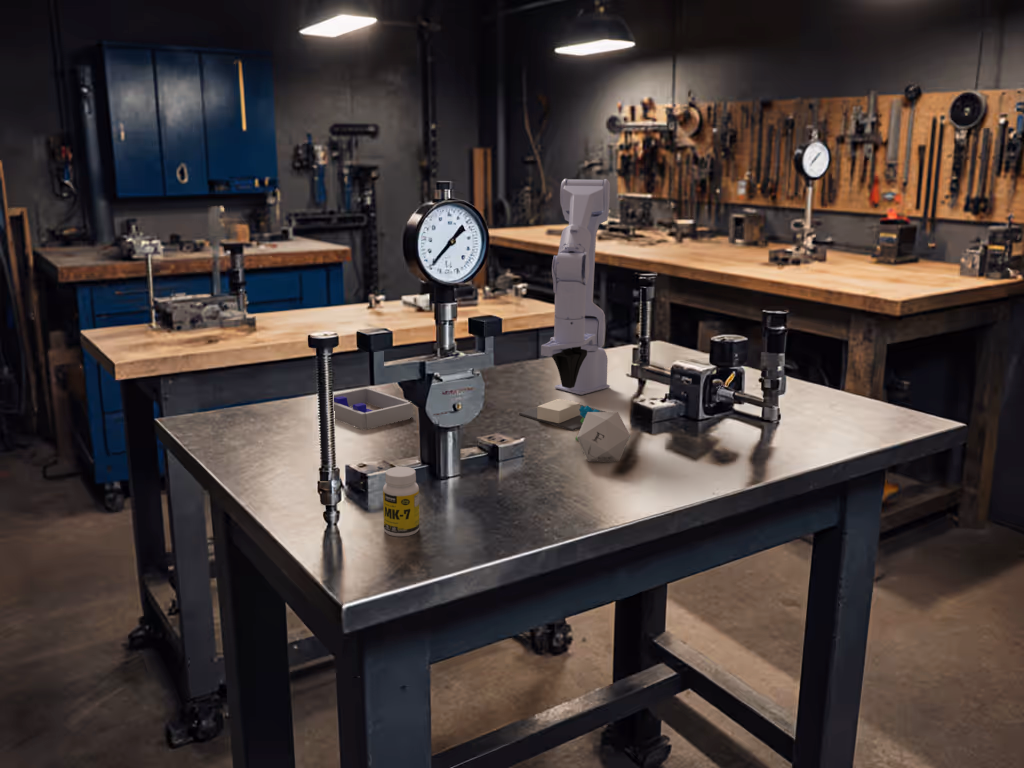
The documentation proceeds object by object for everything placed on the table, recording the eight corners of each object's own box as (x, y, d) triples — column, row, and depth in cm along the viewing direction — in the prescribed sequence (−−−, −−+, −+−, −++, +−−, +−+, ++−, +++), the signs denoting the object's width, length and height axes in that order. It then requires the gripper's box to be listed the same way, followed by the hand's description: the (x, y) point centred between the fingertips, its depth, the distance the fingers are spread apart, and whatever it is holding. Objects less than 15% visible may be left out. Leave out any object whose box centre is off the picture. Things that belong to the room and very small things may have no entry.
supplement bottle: (379, 536, 116) (377, 476, 114) (389, 521, 121) (387, 464, 119) (414, 538, 115) (413, 478, 113) (423, 524, 120) (422, 466, 118)
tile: (558, 398, 171) (537, 406, 165) (580, 402, 168) (559, 411, 162) (558, 411, 171) (537, 419, 166) (579, 415, 168) (558, 424, 163)
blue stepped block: (373, 423, 165) (373, 402, 164) (358, 427, 163) (357, 406, 162) (349, 414, 171) (349, 394, 170) (334, 417, 169) (333, 397, 168)
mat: (565, 402, 179) (565, 400, 179) (618, 416, 169) (618, 414, 169) (519, 414, 170) (519, 412, 170) (572, 430, 161) (572, 428, 160)
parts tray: (367, 401, 179) (367, 387, 178) (414, 417, 168) (413, 402, 167) (318, 412, 171) (317, 397, 171) (363, 430, 160) (362, 414, 160)
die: (566, 458, 148) (570, 425, 141) (592, 424, 153) (598, 390, 145) (607, 482, 145) (614, 450, 138) (633, 447, 150) (641, 414, 142)
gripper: (575, 309, 173) (574, 376, 176) (528, 319, 162) (528, 390, 165) (605, 313, 168) (603, 382, 172) (558, 324, 157) (557, 397, 161)
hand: (568, 386), depth 168 cm, fingers closed
